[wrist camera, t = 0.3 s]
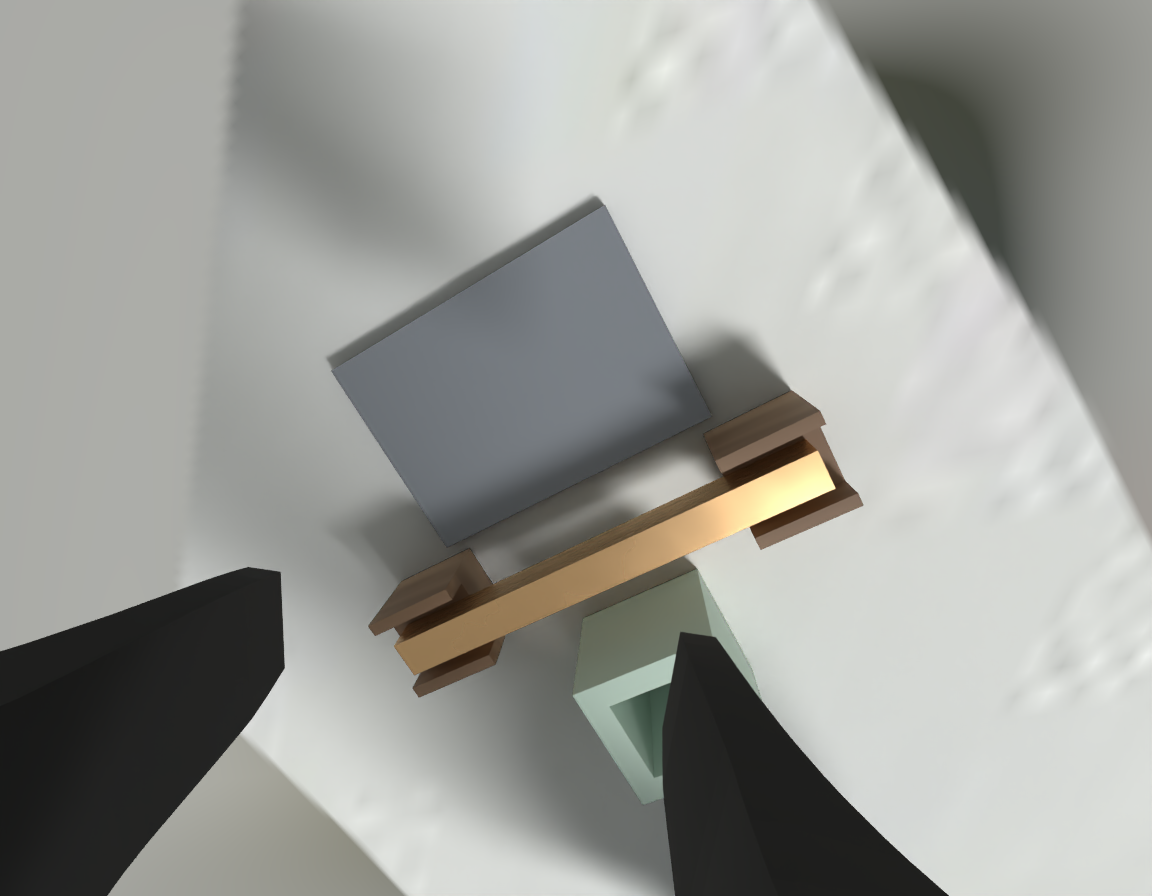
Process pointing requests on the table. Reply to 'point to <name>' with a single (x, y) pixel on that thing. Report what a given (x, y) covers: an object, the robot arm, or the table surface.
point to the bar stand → (731, 451)
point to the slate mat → (525, 382)
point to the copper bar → (618, 555)
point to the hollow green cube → (643, 671)
